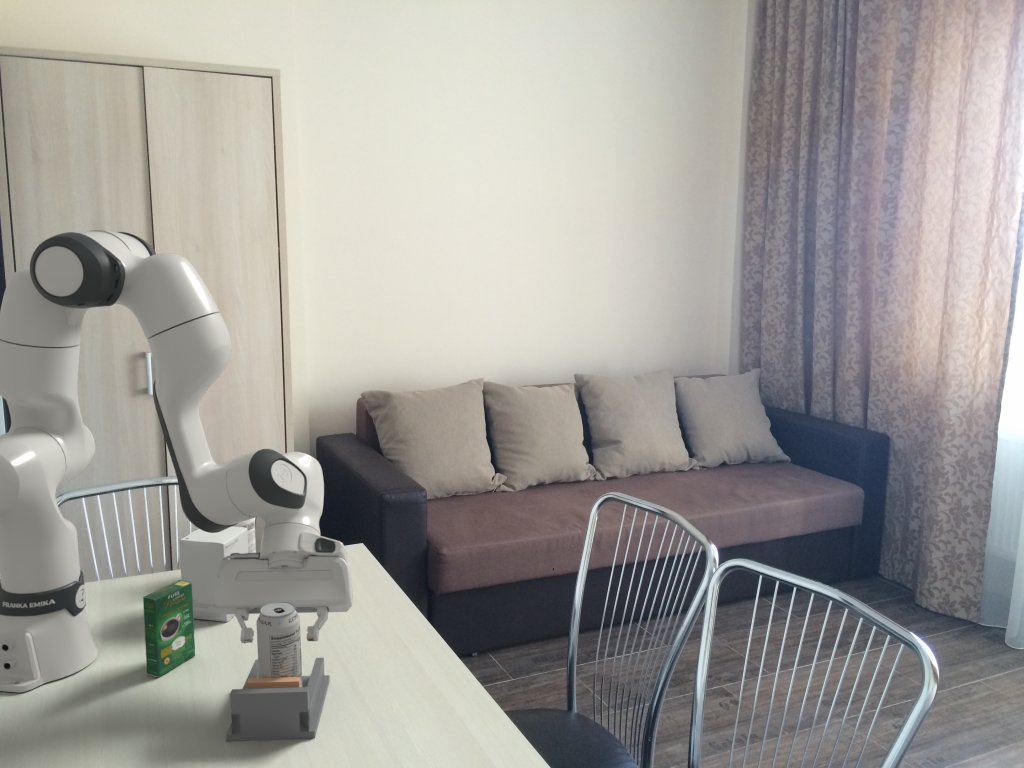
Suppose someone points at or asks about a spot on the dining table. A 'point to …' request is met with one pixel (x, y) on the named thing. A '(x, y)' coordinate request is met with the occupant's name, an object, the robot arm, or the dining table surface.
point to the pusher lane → (278, 708)
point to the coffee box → (169, 627)
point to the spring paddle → (274, 682)
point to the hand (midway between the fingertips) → (279, 641)
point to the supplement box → (208, 566)
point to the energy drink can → (279, 641)
